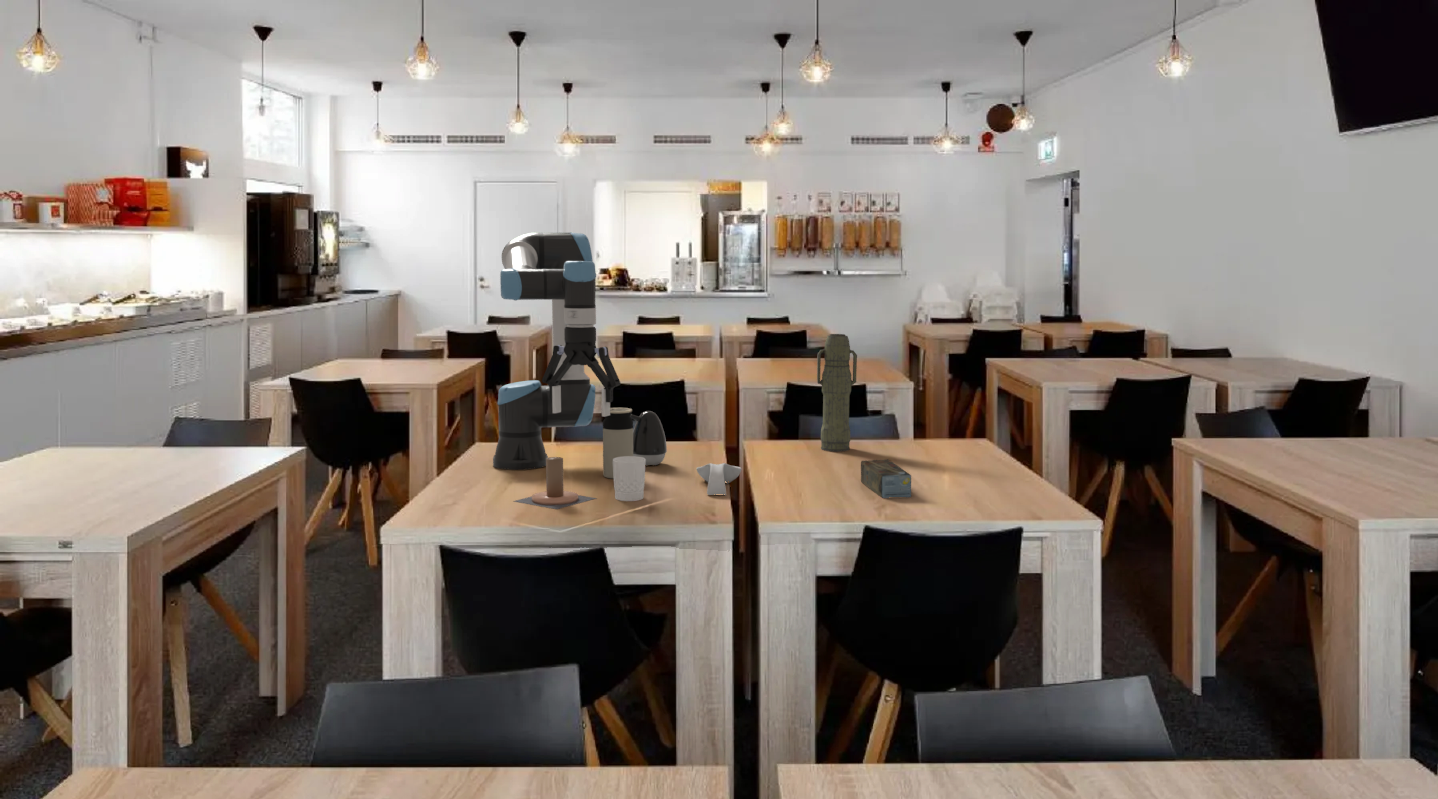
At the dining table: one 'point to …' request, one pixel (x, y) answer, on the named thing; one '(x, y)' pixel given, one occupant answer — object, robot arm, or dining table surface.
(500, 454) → the robot arm
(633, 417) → the pump dispenser
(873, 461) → the beverage carton
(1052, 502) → the dining table surface
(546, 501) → the lid
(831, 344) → the thermos
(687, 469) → the dining table surface
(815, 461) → the dining table surface
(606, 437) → the travel mug
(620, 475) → the white cup
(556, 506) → the mat
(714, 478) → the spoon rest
